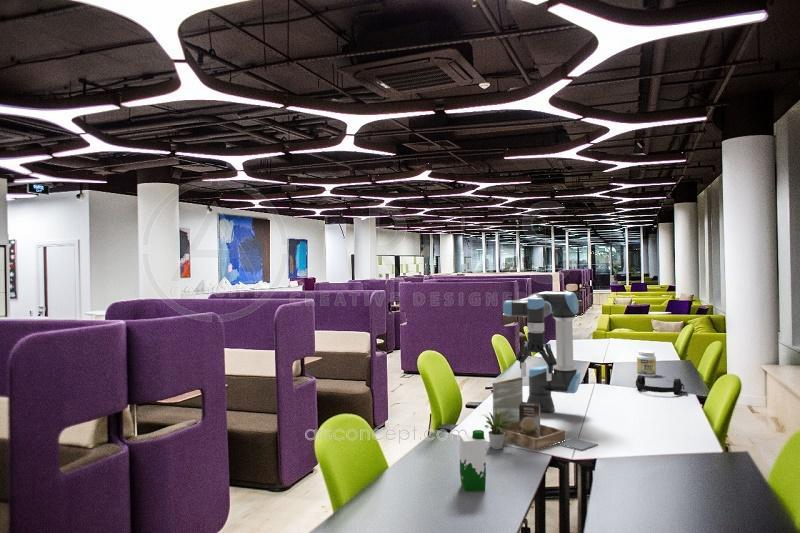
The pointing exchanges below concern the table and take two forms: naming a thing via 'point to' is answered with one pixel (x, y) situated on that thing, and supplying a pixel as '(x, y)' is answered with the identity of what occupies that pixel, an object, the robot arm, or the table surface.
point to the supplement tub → (646, 363)
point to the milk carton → (473, 461)
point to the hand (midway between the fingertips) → (536, 378)
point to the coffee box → (529, 419)
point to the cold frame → (508, 402)
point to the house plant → (497, 430)
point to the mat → (578, 444)
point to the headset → (676, 387)
